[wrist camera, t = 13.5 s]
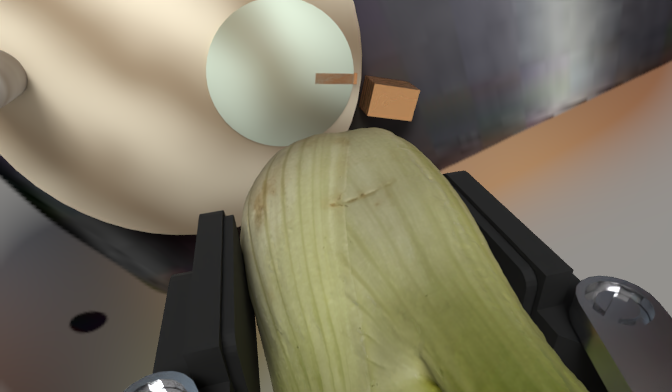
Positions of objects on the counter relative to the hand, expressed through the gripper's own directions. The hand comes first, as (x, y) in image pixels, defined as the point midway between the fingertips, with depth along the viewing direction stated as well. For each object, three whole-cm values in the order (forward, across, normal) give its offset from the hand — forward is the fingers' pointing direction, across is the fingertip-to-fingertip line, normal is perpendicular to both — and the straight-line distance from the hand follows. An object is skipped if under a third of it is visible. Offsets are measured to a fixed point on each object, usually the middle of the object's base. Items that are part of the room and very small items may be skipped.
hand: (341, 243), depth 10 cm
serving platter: (+17, +5, -1) cm, 18 cm away
